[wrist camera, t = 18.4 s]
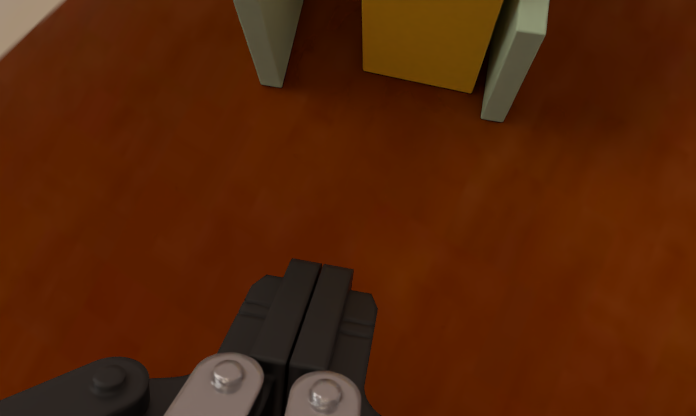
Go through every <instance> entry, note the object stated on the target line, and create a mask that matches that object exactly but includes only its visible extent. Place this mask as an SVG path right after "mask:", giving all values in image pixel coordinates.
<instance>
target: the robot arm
mask: <svg viewBox="0 0 696 416" xmlns="http://www.w3.org/2000/svg"><path fill="white" fill-rule="evenodd" d="M353 272H354V269H349V268H343V267H338V266H332V265H327V264H324V265H323V267H322V264H321V263H315V262H310V261H304V260H299V259H293V258H292V259H291V261H290V263H289V266H288V268H287V270H286V273H285V275H284V277H283V278H282V277H276V276H271V275H266V276H264V277H263V278H261V279H260V280H259V281H257V282H256V283H255V284H253V285H252V286H251V288H250V290H249V292H248V294H247V296H246V298H245V301H244V302H243V304H242V306H241V308H240V310H239V313H238V314H237V316H236V317H235V319H234V321H233V323H232V325H231V327H230V329H229V331H228V333H227V335H226V337H225V339H224V341H223V343H222V345H221V347H220V349H219V351H218V353H217V354H215V355H212V356H210V357H207V358H206V359H204V360H202V361H201V362H200V363H199V364H198V365H197V366H196V367H195V369H194V370H193V372H192V373H191V374H189V375H186V376H181V377H171V378H153V379H149V374H148V371H147V369H146V368H145V367H144V366H143V365H142V364H141V363H140V362H138V361H136V360H133V359H130V358H126V357H109V358H104V359H100V360H97V361H94V362H92V363H90V364H87V365H85V366H82V367H80V368H77V369H75V370H73V371H70V372H68V373H65V374H63V375H61V376H58V377H56V378H53V379H51V380H49V381H46V382H44V383H41V384H39V385H37V386H34V387H32V388H29V389H27V390H25V391H22V392H20V393H17V394H15V395H13V396H10V397H8V398H5V399H3V400H0V416H381V415H380V414H378V413H377V412H376V411H375V410H374V409H373V408H372V406H371V405H370V404H369V402H368V400H367V398H366V395H365V391H364V384H365V379H366V373H367V367H368V361H369V356H370V350H371V344H372V338H373V333H374V327H375V321H376V315H377V310H378V308H377V306H376V304H375V301H374V299H373V297H372V295H371V294H369V293H364V292H358V291H353V290H351V287H352V280H353Z"/></svg>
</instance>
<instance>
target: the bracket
mask: <svg viewBox="0 0 696 416" xmlns="http://www.w3.org/2000/svg"><path fill="white" fill-rule="evenodd" d="M233 2H234V5H235V8H236V11H237V14H238V17H239V20H240V23H241V26H242V29H243V32H244V35H245V38H246V41H247V44H248V47H249V50H250V53H251V56H252V59H253V62H254V65H255V68H256V71H257V74H258V77H259V80H260V83H261V84H262V85H267V86H274V87H280V88H281V87H282V85H283V81H284V77H285V73H286V69H287V65H288V61H289V57H290V53H291V49H292V45H293V41H294V37H295V33H296V29H297V25H298V21H299V17H300V13H301V9H302V5H303V0H233ZM548 10H549V0H504V1H503V3H502V6H501V9H500V12H499V15H498V18H497V21H496V24H495V27H494V30H493V33H492V38H491V46H490V53H489V60H488V68H487V75H486V82H485V90H484V97H483V104H482V112H481V119H485V120H492V121H498V122H503V121H504V119H505V117H506V115H507V113H508V111H509V109H510V107H511V105H512V103H513V101H514V99H515V97H516V95H517V93H518V90H519V88H520V86H521V84H522V82H523V80H524V78H525V76H526V74H527V72H528V70H529V68H530V66H531V64H532V62H533V60H534V58H535V56H536V53H537V51H538V49H539V47H540V45H541V43H542V41H543V39H544V37H545V35H546V29H547V19H548Z"/></svg>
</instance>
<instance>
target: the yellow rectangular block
mask: <svg viewBox="0 0 696 416" xmlns="http://www.w3.org/2000/svg"><path fill="white" fill-rule="evenodd" d="M503 1H504V0H362V49H363V71H367V72H371V73H376V74H381V75H386V76H390V77H395V78H400V79H405V80H409V81H414V82H419V83H424V84H428V85H433V86H438V87H443V88H447V89H452V90H457V91H462V92H466V93H472V92H473V89H474V86H475V83H476V80H477V77H478V74H479V71H480V69H481V66H482V63H483V60H484V57H485V54H486V51H487V48H488V45H489V42H490V39H491V36H492V33H493V30H494V27H495V24H496V21H497V18H498V15H499V12H500V9H501V6H502V3H503Z"/></svg>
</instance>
